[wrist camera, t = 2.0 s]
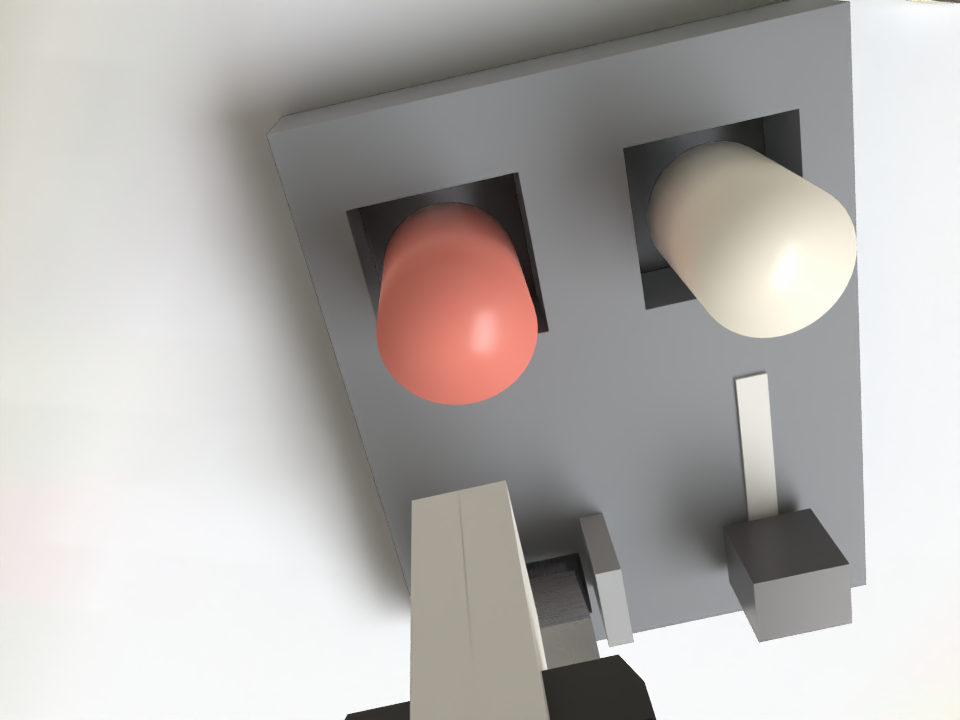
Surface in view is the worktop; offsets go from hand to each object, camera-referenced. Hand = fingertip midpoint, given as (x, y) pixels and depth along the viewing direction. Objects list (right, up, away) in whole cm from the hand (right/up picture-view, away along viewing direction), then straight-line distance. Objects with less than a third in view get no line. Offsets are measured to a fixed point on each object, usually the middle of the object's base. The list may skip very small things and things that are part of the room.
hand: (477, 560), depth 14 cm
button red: (-1, +6, +12) cm, 14 cm away
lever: (+2, -4, +15) cm, 16 cm away
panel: (+4, +3, +17) cm, 17 cm away
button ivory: (+7, +8, +12) cm, 16 cm away
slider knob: (+10, -3, +16) cm, 19 cm away
